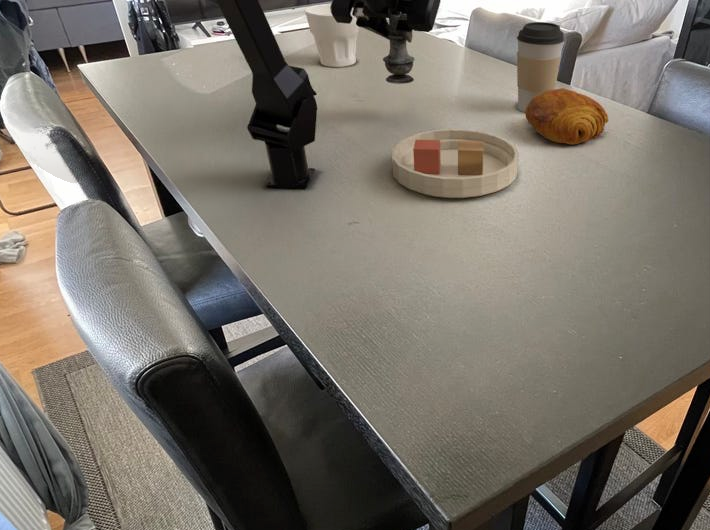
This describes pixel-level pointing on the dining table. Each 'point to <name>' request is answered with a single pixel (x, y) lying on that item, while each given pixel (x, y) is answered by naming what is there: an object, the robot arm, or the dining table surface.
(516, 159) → the round wooden tray
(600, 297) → the dining table surface
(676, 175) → the dining table surface
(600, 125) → the croissant
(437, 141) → the block
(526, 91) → the coffee cup
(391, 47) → the grey turned piece
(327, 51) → the cup
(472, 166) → the block
